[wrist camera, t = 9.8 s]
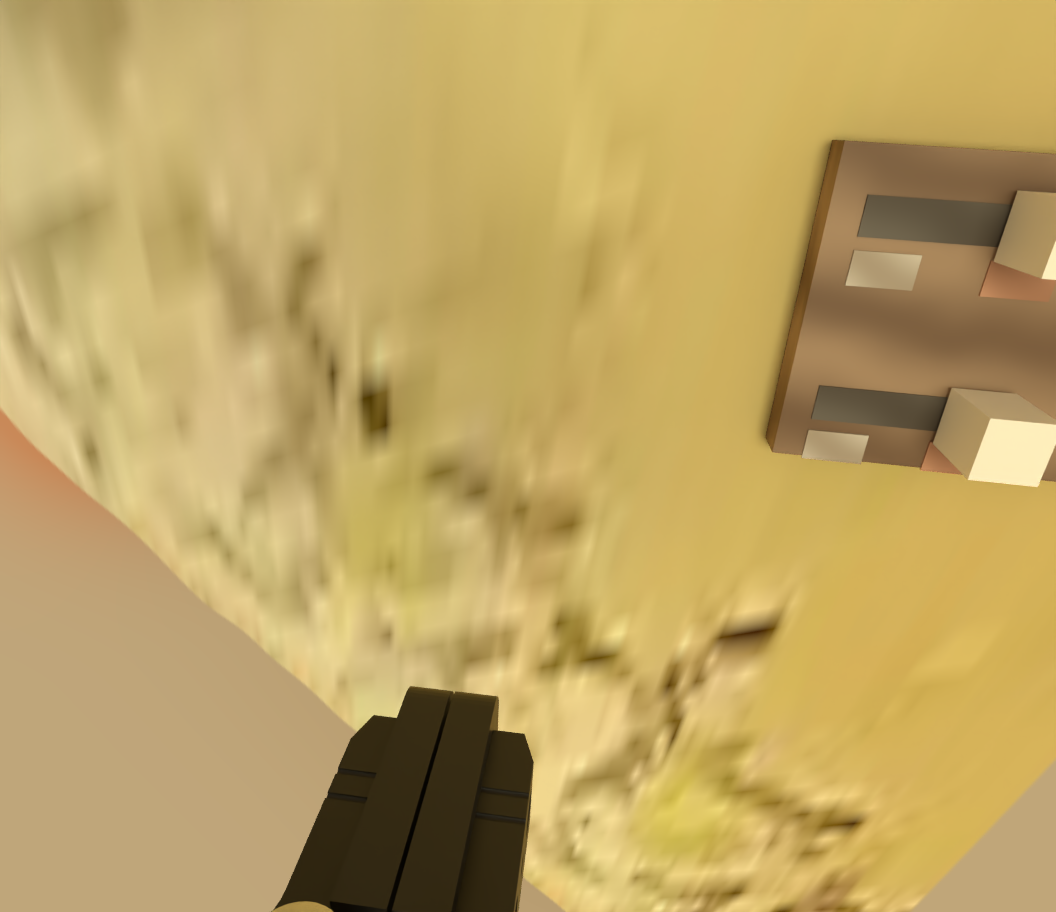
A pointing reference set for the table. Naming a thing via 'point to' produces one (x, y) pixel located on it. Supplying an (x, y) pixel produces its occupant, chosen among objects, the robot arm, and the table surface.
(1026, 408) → the tab
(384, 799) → the robot arm
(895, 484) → the table surface
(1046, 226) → the tab
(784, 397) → the switch board
